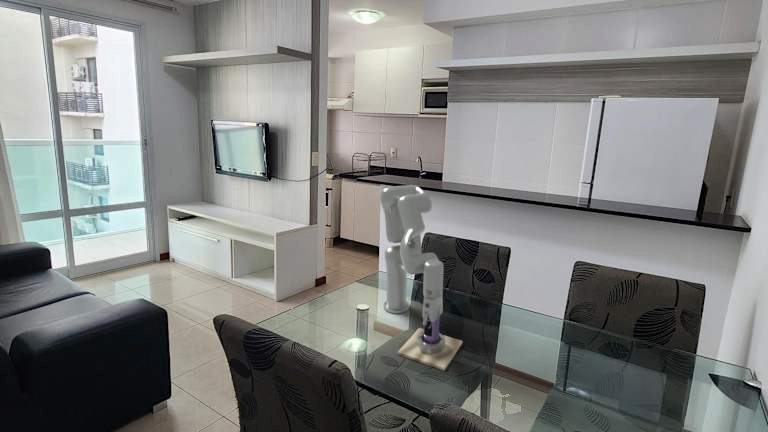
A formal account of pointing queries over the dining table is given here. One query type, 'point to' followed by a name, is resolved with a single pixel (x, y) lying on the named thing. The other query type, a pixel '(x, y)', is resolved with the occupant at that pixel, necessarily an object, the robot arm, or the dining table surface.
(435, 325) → the beverage can
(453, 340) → the rosette socket
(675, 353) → the dining table surface
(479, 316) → the dining table surface
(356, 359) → the dining table surface
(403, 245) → the robot arm
